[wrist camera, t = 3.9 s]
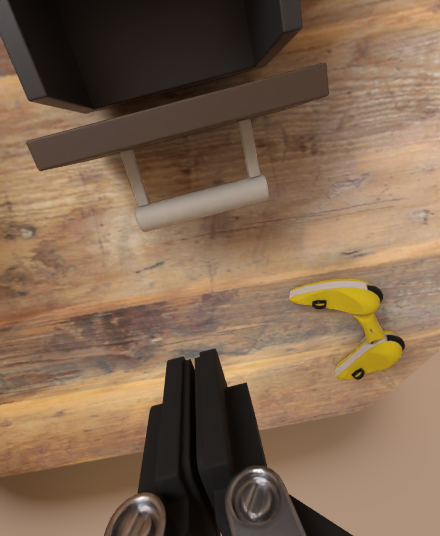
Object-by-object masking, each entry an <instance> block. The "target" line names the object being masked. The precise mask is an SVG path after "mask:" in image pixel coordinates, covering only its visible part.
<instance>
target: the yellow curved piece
mask: <svg viewBox="0 0 440 536" xmlns="http://www.w3.org/2000/svg"><path fill="white" fill-rule="evenodd" d="M289 300H290V301H291V302H293V303H296V304H305V305H311V306H312V307H314V308H315V309H324V308H330V309H335V310H340V311H344V312H348V313H351V314H352V315H353V316H354V317H355V318H356V319H357V320H358V321H359V322H360V324H361V326H362V328H363V329H364V332H365V335H366V336H364V338H363V339H362V341H361V344H360V345H359V346H358V347H357V348H356V349H355V350H354V351H353V352H352V353H351V354H349V355H348V356H347V357H346V358H345V359H343V360H342V361H341V362H339V363H338V365H337V366H336V368H335V370H336V378H338V379H350V378H355V379H357V380H359V379H361V378H362V377H363V376H364V374H366V373H369V372H373V371H379V370H384V369H386V368H388V367H390V366H392V365H394V364H395V363H396V362H397V361H398V360H399V359H400V357H401V355H402V351H403V350H404V348H405V344H404V341H403V340H402V339H401V338H400V337H398V336H397V335H396V334H395V333H394V332H392V331H390V330H383V329H382V328H381V326H380V325H379V323H378V321H377V319H376V316H375V313H374V312H376V311H377V310H378V308H379V306H380V303H381V302H382V300H383V294H382V292H381V290H380V289H378V288H377V287H375V286H373V285H372V284H371V283H369V282H367V281H363V280H359V279H348V278H343V279H331V280H323V281H318V282H314V283H310V284H306V285H303V286H299V287H297V288H294V289H292V290H291V291H290V295H289ZM357 376H358V377H357Z"/></svg>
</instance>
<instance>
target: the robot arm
mask: <svg viewBox="0 0 440 536" xmlns="http://www.w3.org/2000/svg"><path fill="white" fill-rule="evenodd" d="M220 532H221V533H220ZM221 534H222V536H353V535H351V534H350V533H348V532H346V531H345V530H343V529H342V528H340V527H339V526H337V525H336V524H334V523H333V522H331V521H330V520H328V519H326V518H325V517H323V516H322V515H320V514H319V513H317V512H316V511H314V510H313V509H311V508H309V507H308V506H306V505H305V504H303V503H302V502H300V501H299V500H297V499H296V498H294V497H292V496H291V495H289V494H288V492H287V489H286V487H285V485H284V483H283V481H282V480H281V478H280V476H279V475H278V474H277V473H275V472H274V471H273V470H272V469H270V468H267V464H266V460H265V455H264V451H263V447H262V442H261V438H260V434H259V430H258V425H257V421H256V417H255V413H254V409H253V405H252V401H251V397H250V394H249V390H248V386H247V383H243V384H239V385H235V386H231V387H227V383H226V380H225V377H224V374H223V370H222V367H221V364H220V360H219V357H218V354H217V351H216V349H211V350H207V351H203V352H200V357H197V358H195V369H194V367H193V364H192V361H191V359H189V360H185V358H184V357H179V358H175V359H171V360H168V361H167V366H166V376H165V386H164V395H163V404H159V405H155V406H152V407H151V409H150V413H149V420H148V427H147V433H146V440H145V447H144V454H143V461H142V467H141V474H140V481H139V488H138V494H136V495H134V496H132V497H130V498H129V499H127V500H126V501H125V502H124V503H122V504H121V505H120V506H119V507H118V508H117V510H116V511H115V513H114V514H113V515H112V517H111V519H110V521H109V523H108V526H107V528H106V531H105V533H104V536H221Z"/></svg>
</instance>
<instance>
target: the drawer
mask: <svg viewBox="0 0 440 536" xmlns="http://www.w3.org/2000/svg"><path fill="white" fill-rule="evenodd" d="M302 27H303V24H302V15H301V5H300V0H0V36H1V38H2V40H3V43H4V45H5V47H6V50H7V52H8V54H9V57H10V59H11V61H12V64H13V66H14V68H15V70H16V73H17V75H18V77H19V80H20V82H21V84H22V87H23V89H24V91H25V94H26V96H27V98H28V100H29V101H31V102H35V103H40V104H44V105H49V106H53V107H58V108H62V109H67V110H71V111H76V112H80V113H85V114H87V113H91V112H94V111H98V110H102V109H106V108H109V107H113V106H117V105H121V104H125V103H128V102H132V101H136V100H140V99H143V98H147V97H151V96H155V95H159V94H162V93H166V92H170V91H174V90H177V89H181V88H185V87H189V86H193V85H196V84H200V83H204V82H208V81H211V80H215V79H219V78H223V77H227V76H230V75H234V74H238V73H242V72H246V71H249V70H253V69H257V68H261V67H264V66H266V65H267V64H268V63H269V62H270V61H271V60H272V59H273V58H274V57H275V56H276V55H277V54H278V53H279V52H280V51H281V49H282V48H283V47H284V46H285V45H286V44H287V43H288V42H289V41H290V40H291V39H292V38H293V37H294V36H295V35H296V34H297V33H298V32H299V31H300V30H301V29H302ZM328 95H329V90H328V78H327V66H326V63H321V64H317V65H313V66H309V67H305V68H302V69H298V70H294V71H290V72H286V73H283V74H279V75H275V76H271V77H267V78H264V79H260V80H256V81H252V82H249V83H245V84H241V85H237V86H233V87H230V88H226V89H222V90H218V91H214V92H211V93H207V94H203V95H199V96H195V97H192V98H188V99H184V100H180V101H177V102H173V103H169V104H165V105H161V106H158V107H154V108H150V109H146V110H142V111H139V112H135V113H131V114H127V115H123V116H120V117H116V118H112V119H108V120H104V121H101V122H97V123H93V124H89V125H86V126H82V127H78V128H74V129H70V130H67V131H63V132H59V133H55V134H51V135H48V136H44V137H40V138H36V139H32V140H29V141H27V142H26V144H27V146H28V148H29V150H30V153H31V155H32V157H33V159H34V161H35V163H36V166H37V168H38V170H39V171H43V170H48V169H53V168H57V167H62V166H67V165H72V164H76V163H81V162H86V161H90V160H95V159H98V158H102V157H106V156H110V155H114V154H118V153H120V156H121V159H122V162H123V165H124V167H125V170H126V173H127V176H128V179H129V182H130V185H131V188H132V190H133V193H134V196H135V199H136V202H137V205H138V207H136V209H135V213H136V218H137V222H138V224H139V227H140V229H141V230H142V231H143V232H147V231H151V230H155V229H159V228H163V227H167V226H170V225H174V224H178V223H182V222H186V221H190V220H194V219H198V218H202V217H206V216H210V215H214V214H218V213H222V212H226V211H229V210H233V209H237V208H241V207H245V206H249V205H253V204H257V203H261V202H265V201H268V200H269V189H268V185H267V181H266V178H265V176H264V175H260V169H259V163H258V158H257V152H256V146H255V141H254V135H253V130H252V124H251V119H252V118H256V117H259V116H263V115H267V114H271V113H275V112H279V111H282V110H285V109H289V108H292V107H295V106H298V105H301V104H304V103H308V102H311V101H314V100H317V99H320V98H323V97H326V96H328ZM236 122H237V123H238V128H239V133H240V138H241V144H242V149H243V154H244V159H245V164H246V169H247V174H248V177H249V178H247V179H243V180H239V181H235V182H231V183H227V184H223V185H219V186H216V187H212V188H208V189H204V190H200V191H196V192H192V193H188V194H184V195H180V196H177V197H173V198H169V199H165V200H161V201H157V202H153V203H150V200H149V197H148V194H147V191H146V188H145V185H144V182H143V178H142V175H141V172H140V169H139V166H138V163H137V160H136V157H135V154H134V151H133V149H137V148H141V147H144V146H148V145H152V144H156V143H160V142H164V141H167V140H171V139H175V138H179V137H183V136H187V135H190V134H194V133H198V132H202V131H206V130H210V129H213V128H217V127H221V126H225V125H229V124H233V123H236Z"/></svg>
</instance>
